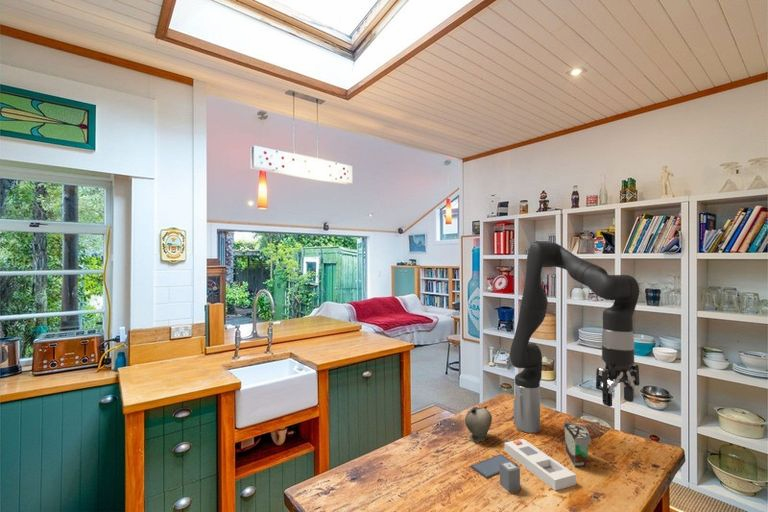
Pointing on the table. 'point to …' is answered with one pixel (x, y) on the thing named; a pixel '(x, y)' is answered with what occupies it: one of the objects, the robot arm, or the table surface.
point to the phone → (490, 466)
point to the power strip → (540, 464)
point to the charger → (509, 476)
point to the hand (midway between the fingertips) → (618, 403)
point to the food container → (576, 444)
